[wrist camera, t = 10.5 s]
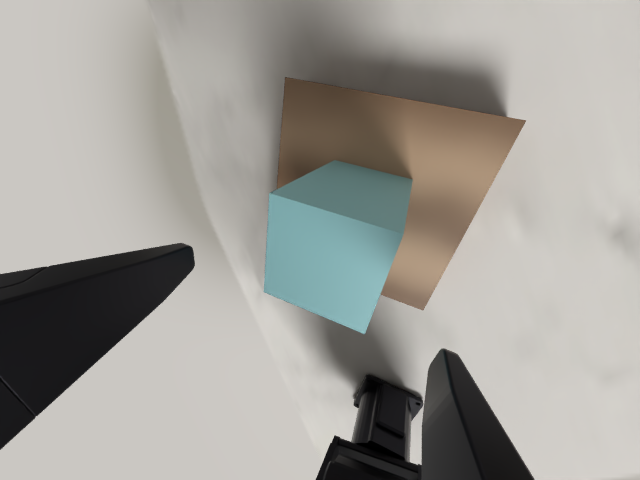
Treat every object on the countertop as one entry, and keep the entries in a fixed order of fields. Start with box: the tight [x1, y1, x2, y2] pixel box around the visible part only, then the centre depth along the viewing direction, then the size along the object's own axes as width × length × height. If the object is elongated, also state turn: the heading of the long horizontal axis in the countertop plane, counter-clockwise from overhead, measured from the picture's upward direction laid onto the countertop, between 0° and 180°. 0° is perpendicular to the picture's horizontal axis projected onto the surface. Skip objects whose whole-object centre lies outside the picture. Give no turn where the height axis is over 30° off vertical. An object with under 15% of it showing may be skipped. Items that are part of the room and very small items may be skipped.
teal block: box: [264, 160, 413, 334], centre depth 13 cm, size 5×5×8 cm
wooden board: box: [277, 77, 526, 310], centre depth 18 cm, size 13×13×3 cm
